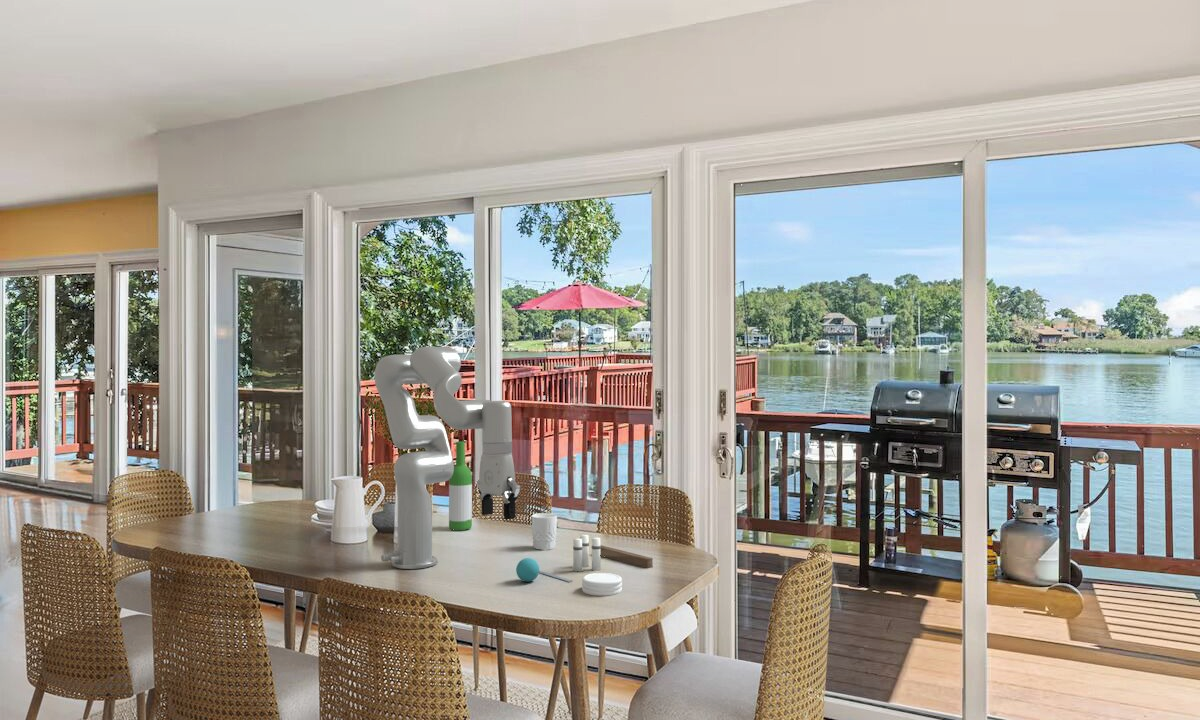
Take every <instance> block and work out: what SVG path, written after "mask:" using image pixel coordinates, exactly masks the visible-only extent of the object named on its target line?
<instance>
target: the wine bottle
mask: <svg viewBox="0 0 1200 720" xmlns="http://www.w3.org/2000/svg"><path fill="white" fill-rule="evenodd" d="M465 443H466V442H465V441H456V444H455V445H456V447H455V448H456V449H455V455H456V456H455V465H454V472H453V475H452V477H451V478H450V479H449V480H448V528H449V529H450V530H451V529H454V530H464V531H467V530H466V529H469V530H470V529H471V528H472V526H473V524H472V523H473V520H472V519H473V501H472V500H473V497H472V496H473V481H472V480H473V478H472V477H473V475H472V471H471V469H470V468H469V467H468V466H467V465H466V444H465ZM454 530H453V531H454Z"/></svg>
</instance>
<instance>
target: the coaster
mask: <svg viewBox="0 0 1200 720" xmlns="http://www.w3.org/2000/svg"><path fill="white" fill-rule="evenodd" d="M581 580H582V581H581V582H582V583H581V585H582V587H581V590H582V592H583V593H584V594H587V595H590V596H598V597H599V596H601V597H604V596H606V597H607V596H614V595H618V594H619V593H621V592H622V591H623V578H622V576H621V575H618V574H615V573H609V572H595V573H594V572H593V573H589V574H586V575H584V576H582V579H581Z"/></svg>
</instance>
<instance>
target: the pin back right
mask: <svg viewBox="0 0 1200 720" xmlns="http://www.w3.org/2000/svg"><path fill="white" fill-rule="evenodd" d="M600 549H601V538H600V537H591V570H592V571H600V570H601V556H600Z"/></svg>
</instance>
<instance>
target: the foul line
mask: <svg viewBox="0 0 1200 720" xmlns="http://www.w3.org/2000/svg"><path fill="white" fill-rule="evenodd" d="M539 574H540V575H545V576H548V577H550V578H554V579H557V580H560V581H563V582H567V583H572V582H574V580H571V579H568V578H565V577H562V576H559V575H555V574H552V573H549V572H546V571H543V570H540V569H539Z"/></svg>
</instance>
